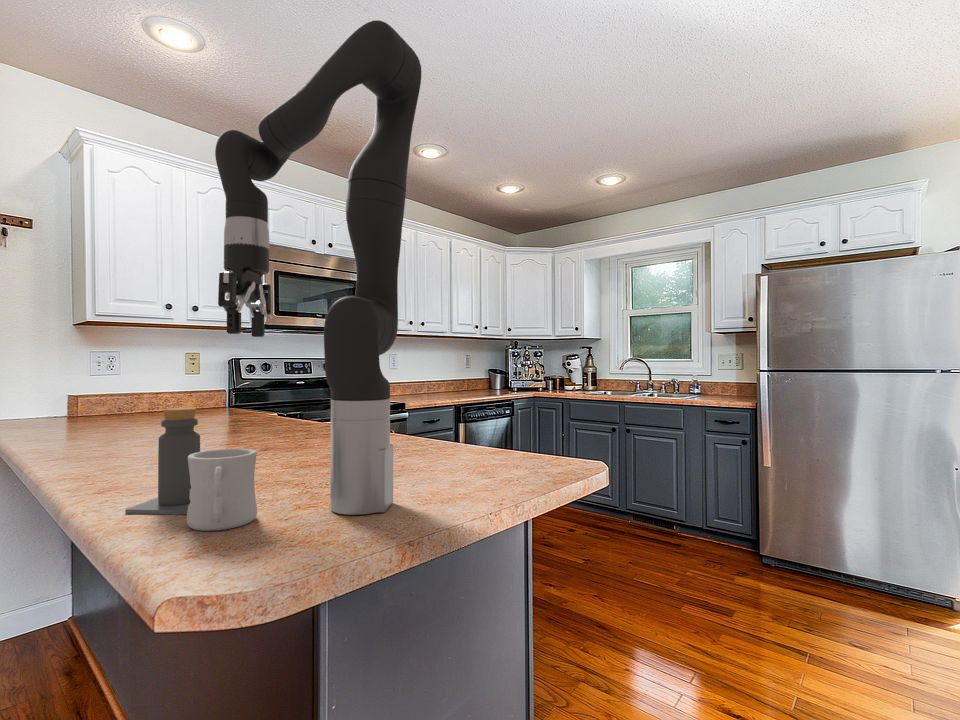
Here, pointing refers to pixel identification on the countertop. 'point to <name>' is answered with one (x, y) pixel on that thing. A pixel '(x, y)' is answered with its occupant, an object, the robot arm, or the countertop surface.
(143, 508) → the coaster
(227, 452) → the mug
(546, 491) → the countertop surface
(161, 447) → the bottle
